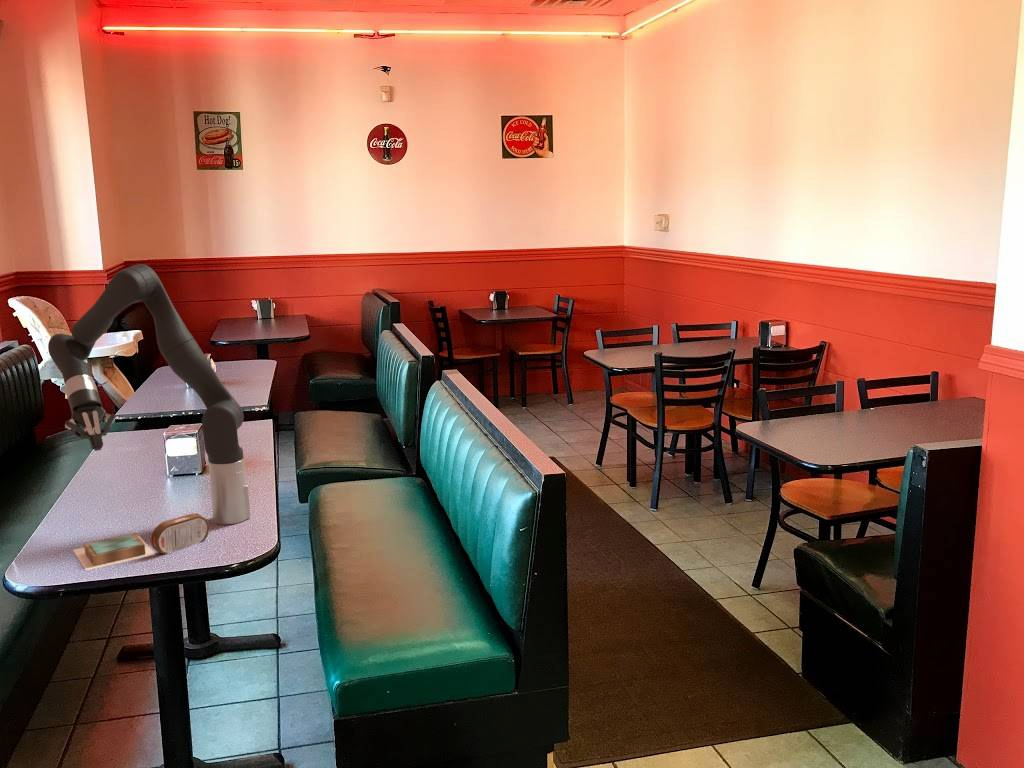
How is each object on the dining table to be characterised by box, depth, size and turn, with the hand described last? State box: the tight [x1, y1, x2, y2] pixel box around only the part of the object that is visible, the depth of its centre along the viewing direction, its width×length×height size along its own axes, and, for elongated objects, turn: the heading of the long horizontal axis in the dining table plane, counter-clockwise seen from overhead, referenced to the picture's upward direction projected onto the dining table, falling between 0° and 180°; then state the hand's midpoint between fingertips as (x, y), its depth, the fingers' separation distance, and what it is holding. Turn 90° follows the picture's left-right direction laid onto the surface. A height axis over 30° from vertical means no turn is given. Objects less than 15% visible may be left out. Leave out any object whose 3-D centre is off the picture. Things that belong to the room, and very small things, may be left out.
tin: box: [150, 512, 210, 555], centre depth 226 cm, size 15×3×8 cm, turn 141°
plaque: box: [83, 532, 145, 566], centre depth 222 cm, size 12×3×10 cm
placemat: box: [72, 535, 156, 571], centre depth 224 cm, size 16×16×1 cm
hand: (98, 448), depth 233 cm, fingers closed
